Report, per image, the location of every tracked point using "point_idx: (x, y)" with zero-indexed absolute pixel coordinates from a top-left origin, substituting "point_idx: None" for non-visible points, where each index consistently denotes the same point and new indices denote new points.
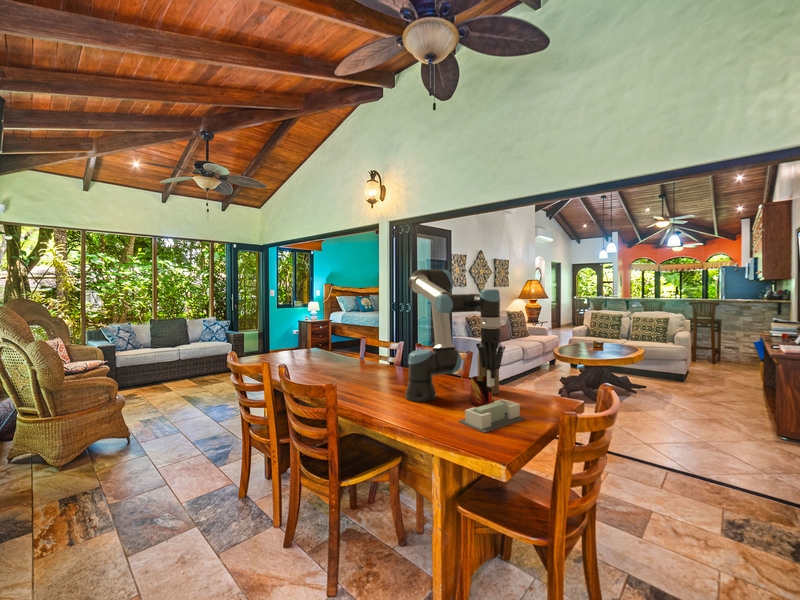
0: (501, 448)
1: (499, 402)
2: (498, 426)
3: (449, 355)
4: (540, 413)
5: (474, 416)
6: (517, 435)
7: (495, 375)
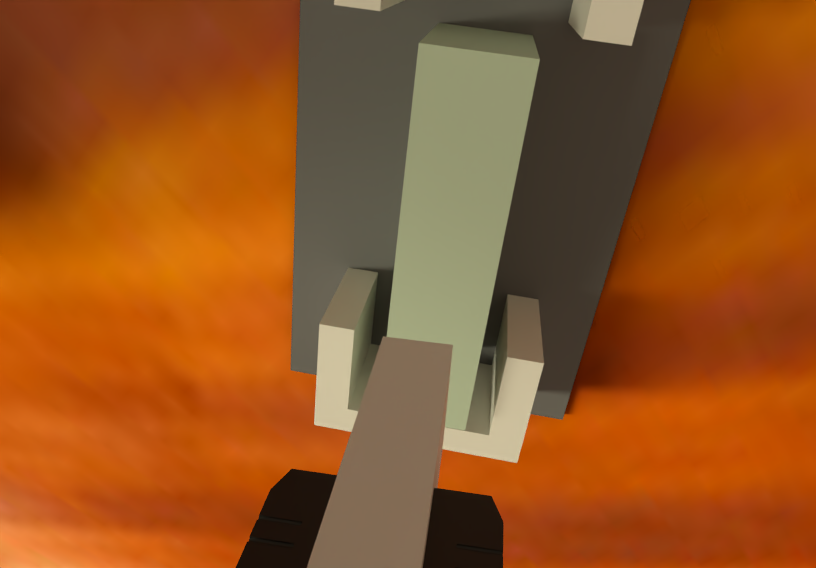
0: (768, 523)
1: (458, 63)
2: (592, 266)
3: None
4: None
5: None
6: (799, 300)
7: (501, 553)
